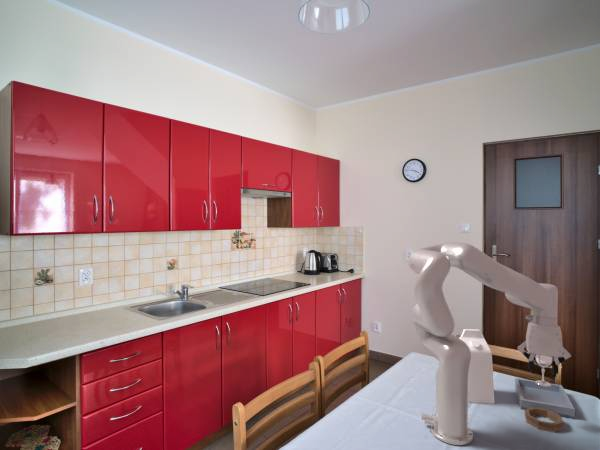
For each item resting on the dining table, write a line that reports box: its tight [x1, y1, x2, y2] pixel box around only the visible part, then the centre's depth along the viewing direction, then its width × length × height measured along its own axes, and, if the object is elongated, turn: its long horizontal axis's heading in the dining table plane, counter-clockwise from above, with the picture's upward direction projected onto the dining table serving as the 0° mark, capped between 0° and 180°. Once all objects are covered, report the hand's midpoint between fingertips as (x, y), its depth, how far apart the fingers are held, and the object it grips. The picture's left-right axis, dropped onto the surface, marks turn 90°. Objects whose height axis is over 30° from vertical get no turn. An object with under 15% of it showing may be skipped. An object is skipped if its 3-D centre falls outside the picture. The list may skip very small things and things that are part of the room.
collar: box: [524, 407, 565, 433], centre depth 124 cm, size 10×10×2 cm
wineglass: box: [533, 355, 554, 386], centre depth 124 cm, size 6×6×12 cm
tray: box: [514, 377, 575, 420], centre depth 138 cm, size 16×20×4 cm
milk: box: [458, 328, 495, 405], centre depth 143 cm, size 12×12×26 cm
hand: (543, 373), depth 124 cm, fingers closed on wineglass, 5 cm apart
